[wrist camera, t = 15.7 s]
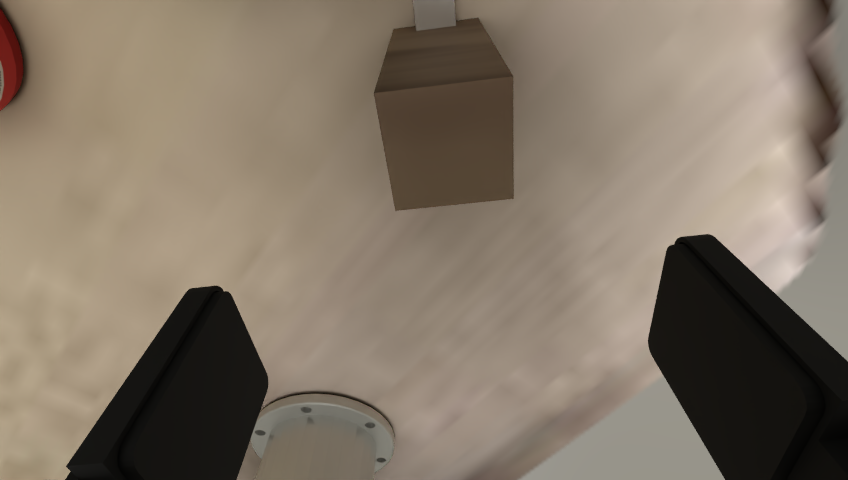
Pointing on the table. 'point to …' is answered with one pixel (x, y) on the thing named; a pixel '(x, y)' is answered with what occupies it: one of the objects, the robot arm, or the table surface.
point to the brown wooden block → (445, 112)
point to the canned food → (9, 62)
